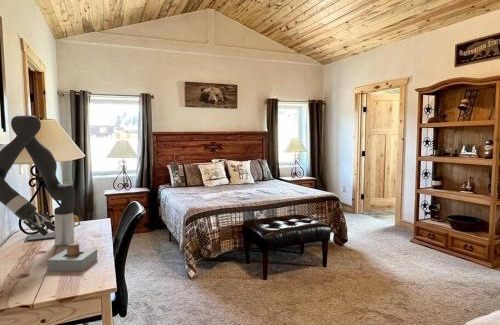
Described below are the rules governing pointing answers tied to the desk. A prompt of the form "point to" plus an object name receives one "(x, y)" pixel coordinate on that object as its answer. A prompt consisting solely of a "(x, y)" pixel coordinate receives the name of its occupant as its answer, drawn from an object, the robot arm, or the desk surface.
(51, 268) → the socket block
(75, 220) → the lion figurine
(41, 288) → the desk surface
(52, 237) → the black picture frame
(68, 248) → the peg
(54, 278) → the desk surface
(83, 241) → the desk surface
